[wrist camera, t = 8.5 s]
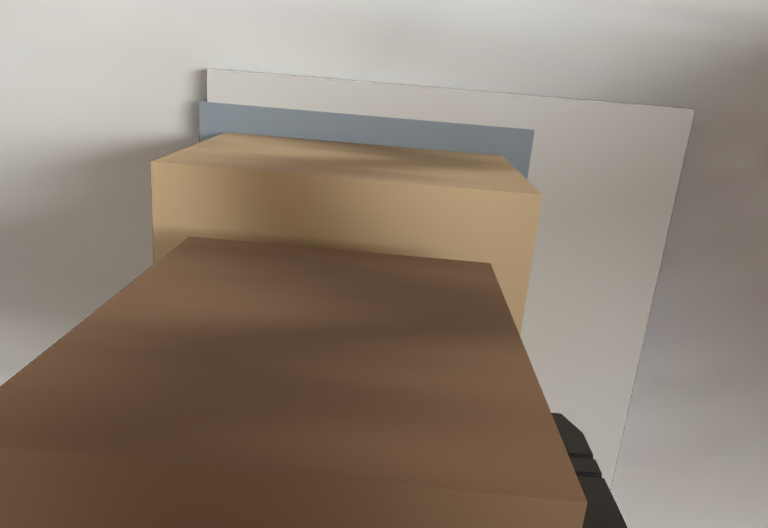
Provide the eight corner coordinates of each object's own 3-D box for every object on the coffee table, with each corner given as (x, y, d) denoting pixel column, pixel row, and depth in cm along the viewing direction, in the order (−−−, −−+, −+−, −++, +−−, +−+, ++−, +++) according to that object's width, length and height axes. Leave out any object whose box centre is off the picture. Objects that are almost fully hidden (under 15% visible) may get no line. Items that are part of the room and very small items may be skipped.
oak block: (502, 155, 16) (542, 195, 11) (469, 401, 18) (490, 521, 13) (226, 132, 16) (150, 161, 11) (225, 379, 18) (160, 491, 14)
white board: (696, 109, 16) (703, 110, 16) (554, 743, 23) (557, 755, 22) (203, 67, 16) (198, 68, 16) (207, 710, 23) (204, 722, 22)
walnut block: (490, 262, 11) (587, 502, 5) (455, 514, 12) (498, 924, 6) (189, 236, 11) (-70, 442, 5) (192, 491, 12) (-2, 874, 6)
